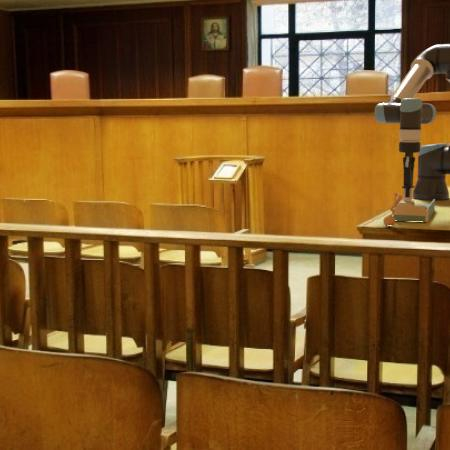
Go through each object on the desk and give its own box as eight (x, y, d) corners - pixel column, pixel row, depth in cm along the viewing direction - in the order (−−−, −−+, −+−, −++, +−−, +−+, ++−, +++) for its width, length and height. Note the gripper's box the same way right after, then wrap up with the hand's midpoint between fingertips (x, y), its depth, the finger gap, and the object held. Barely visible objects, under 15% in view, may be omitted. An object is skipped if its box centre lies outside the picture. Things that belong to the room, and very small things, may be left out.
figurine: (385, 224, 268) (386, 190, 266) (402, 225, 266) (404, 190, 264) (381, 228, 261) (382, 193, 259) (399, 229, 259) (400, 193, 256)
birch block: (400, 209, 286) (400, 200, 285) (414, 210, 284) (414, 201, 284) (398, 211, 281) (398, 202, 281) (412, 212, 279) (412, 203, 279)
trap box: (404, 209, 302) (404, 194, 301) (434, 210, 298) (435, 195, 297) (393, 221, 275) (393, 204, 274) (426, 223, 271) (427, 206, 270)
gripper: (401, 140, 289) (399, 202, 293) (396, 142, 277) (394, 207, 281) (422, 140, 286) (419, 203, 290) (418, 142, 274) (415, 208, 278)
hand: (407, 205), depth 285 cm, fingers closed
